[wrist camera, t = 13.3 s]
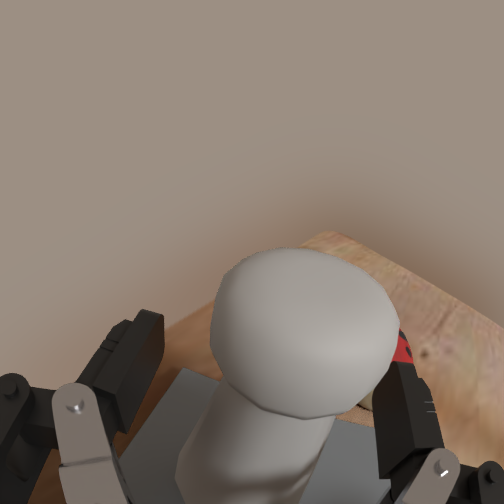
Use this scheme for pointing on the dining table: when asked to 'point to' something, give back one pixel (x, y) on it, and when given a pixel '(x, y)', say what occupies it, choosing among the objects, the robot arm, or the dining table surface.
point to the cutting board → (186, 417)
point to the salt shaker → (284, 373)
